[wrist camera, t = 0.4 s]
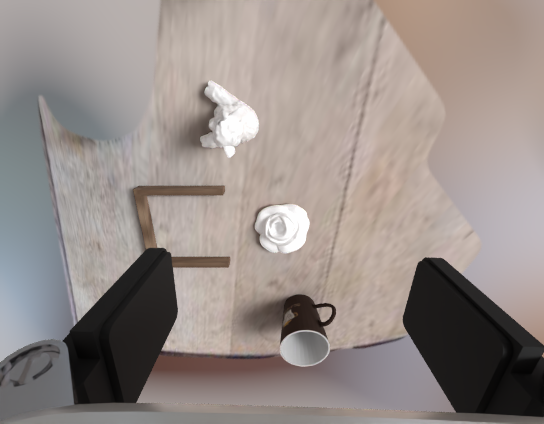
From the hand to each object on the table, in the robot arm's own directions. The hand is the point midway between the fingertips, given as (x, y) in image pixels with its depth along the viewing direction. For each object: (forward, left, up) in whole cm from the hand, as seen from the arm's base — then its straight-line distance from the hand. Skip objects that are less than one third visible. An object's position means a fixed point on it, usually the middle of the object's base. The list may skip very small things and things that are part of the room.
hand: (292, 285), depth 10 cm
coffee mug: (+32, +6, -34) cm, 47 cm away
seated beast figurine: (-4, -7, -34) cm, 35 cm away
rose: (+14, +1, -35) cm, 37 cm away
